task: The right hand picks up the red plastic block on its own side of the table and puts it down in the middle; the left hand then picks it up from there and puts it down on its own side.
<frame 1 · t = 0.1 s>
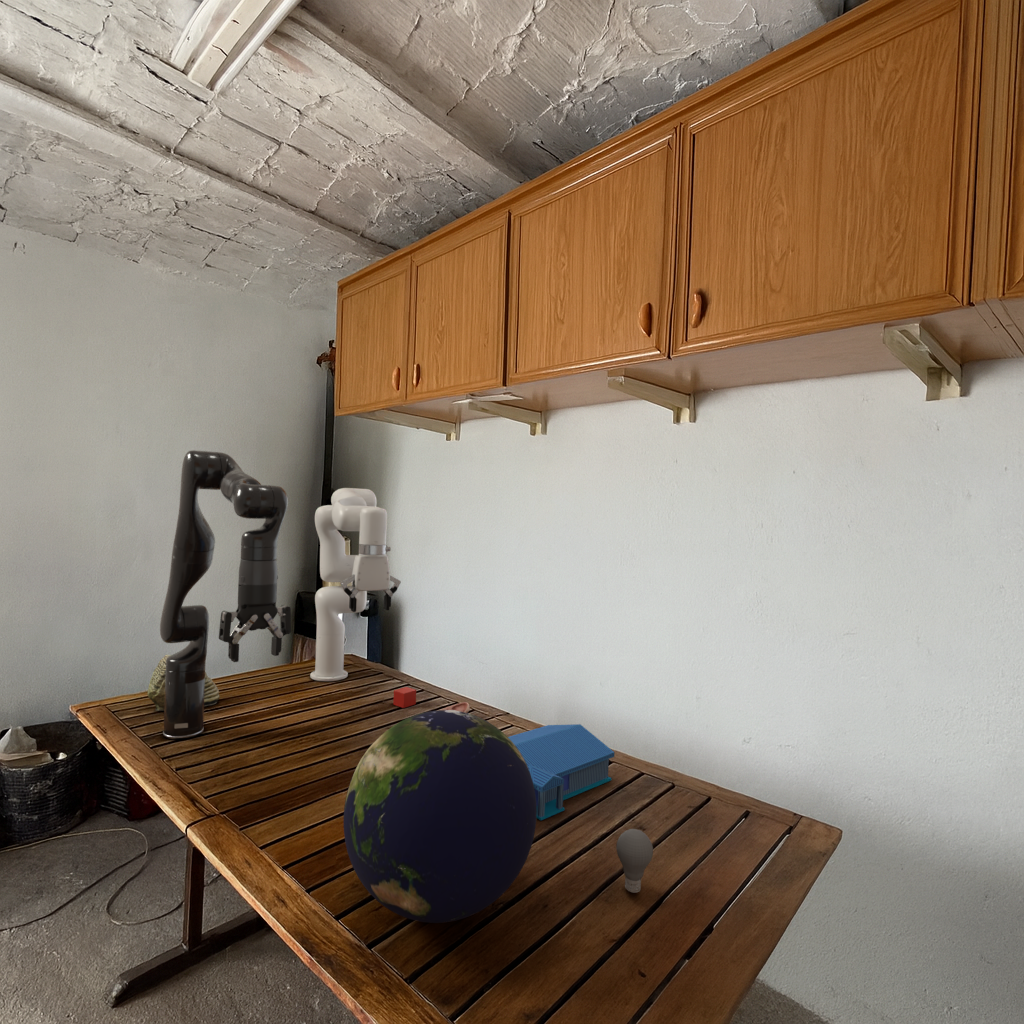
left hand: (255, 658, 132), 29 cm above the table, tool pointing down, fingers open, 8 cm apart
right hand: (370, 610, 181), 31 cm above the table, tool pointing down, fingers open, 9 cm apart
block: (404, 704, 195), on the table
light bulb: (632, 891, 106), on the table
fossil: (183, 706, 185), on the table
model building: (524, 789, 141), on the table
anatomical model: (445, 719, 184), on the table
globe: (437, 905, 100), on the table
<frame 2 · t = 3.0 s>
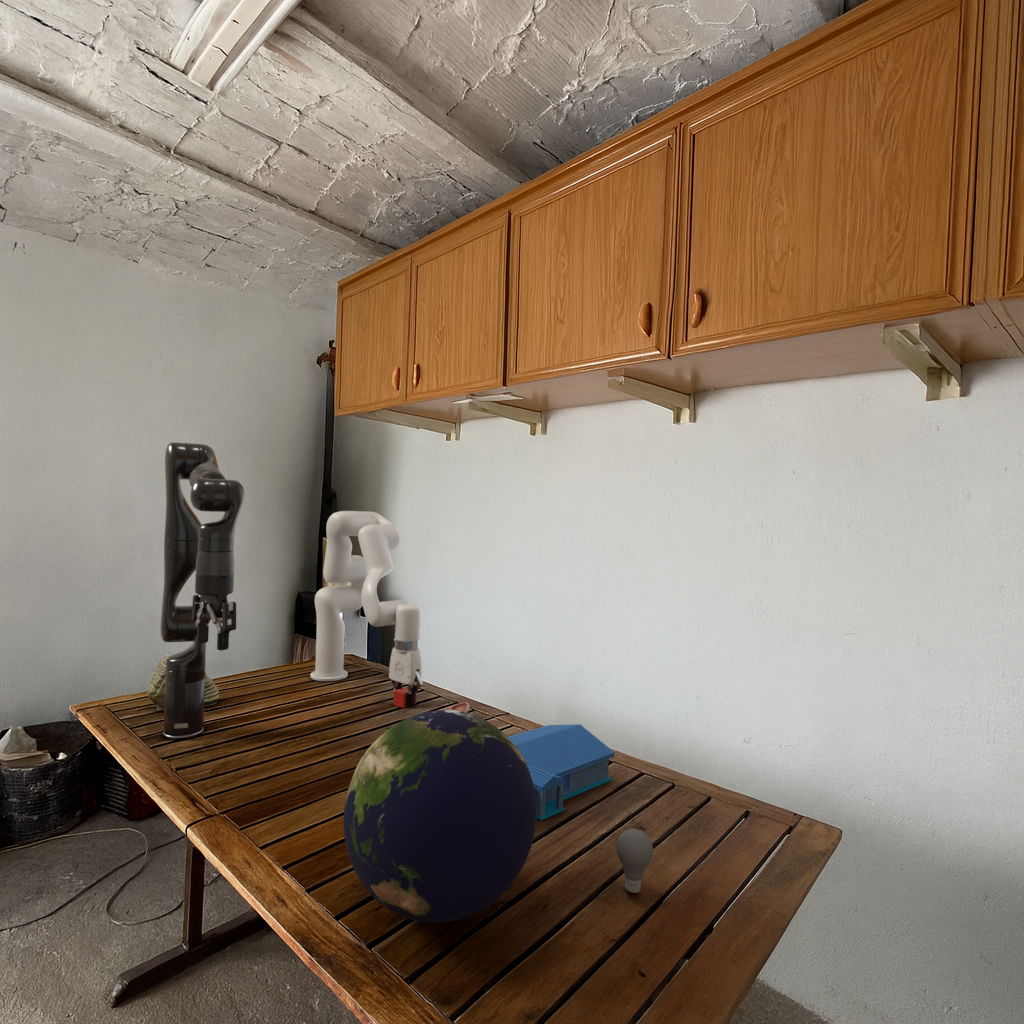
left hand: (212, 646, 137), 30 cm above the table, tool pointing down, fingers open, 8 cm apart
right hand: (404, 702, 195), 0 cm above the table, tool pointing down, fingers closed on block, 4 cm apart
block: (404, 704, 195), on the table, touching right hand
everything else where it was.
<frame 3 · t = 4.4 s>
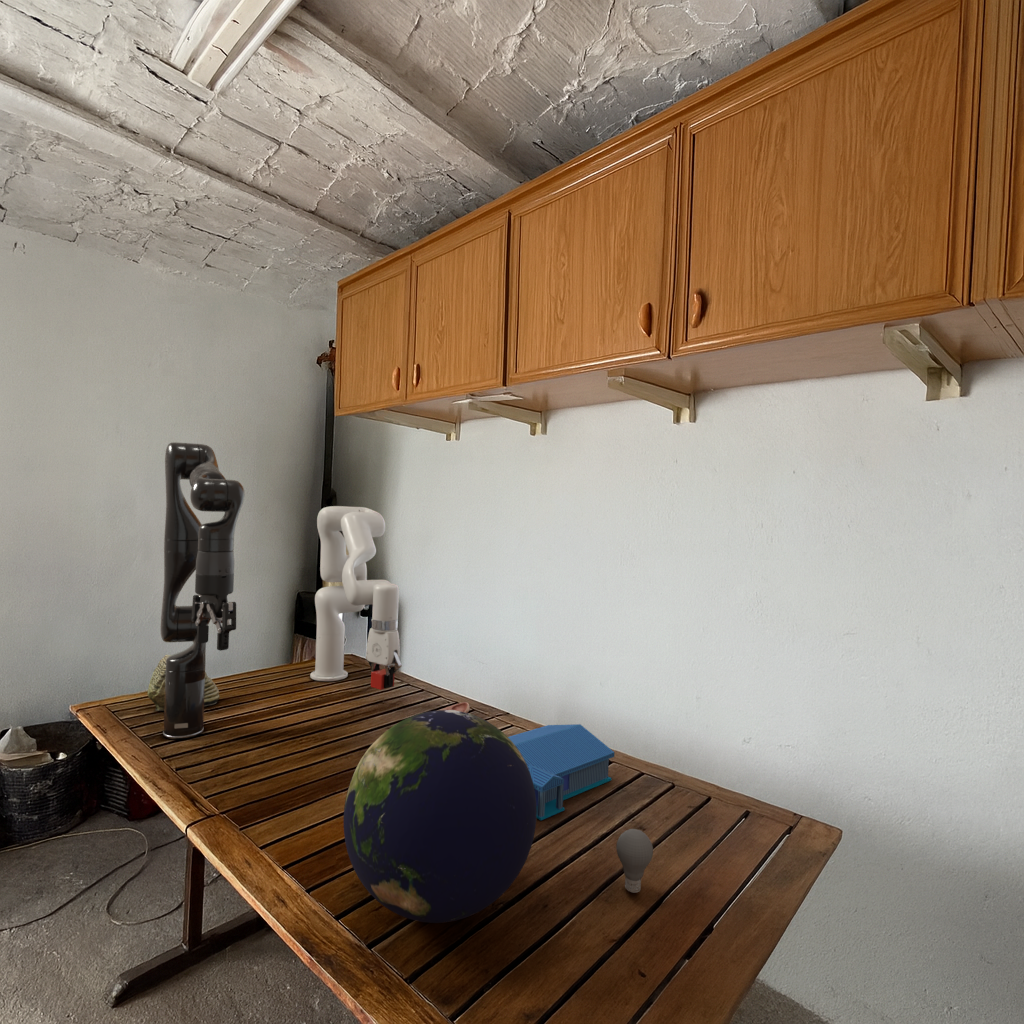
left hand: (212, 646, 137), 30 cm above the table, tool pointing down, fingers open, 8 cm apart
right hand: (382, 685, 189), 7 cm above the table, tool pointing down, fingers closed on block, 4 cm apart
block: (382, 686, 190), point 7 cm above the table, touching right hand
everything else where it was.
when the right hand's fingers open (1 cm above the table, at t = 5.9 s): block stays where it is, on the table.
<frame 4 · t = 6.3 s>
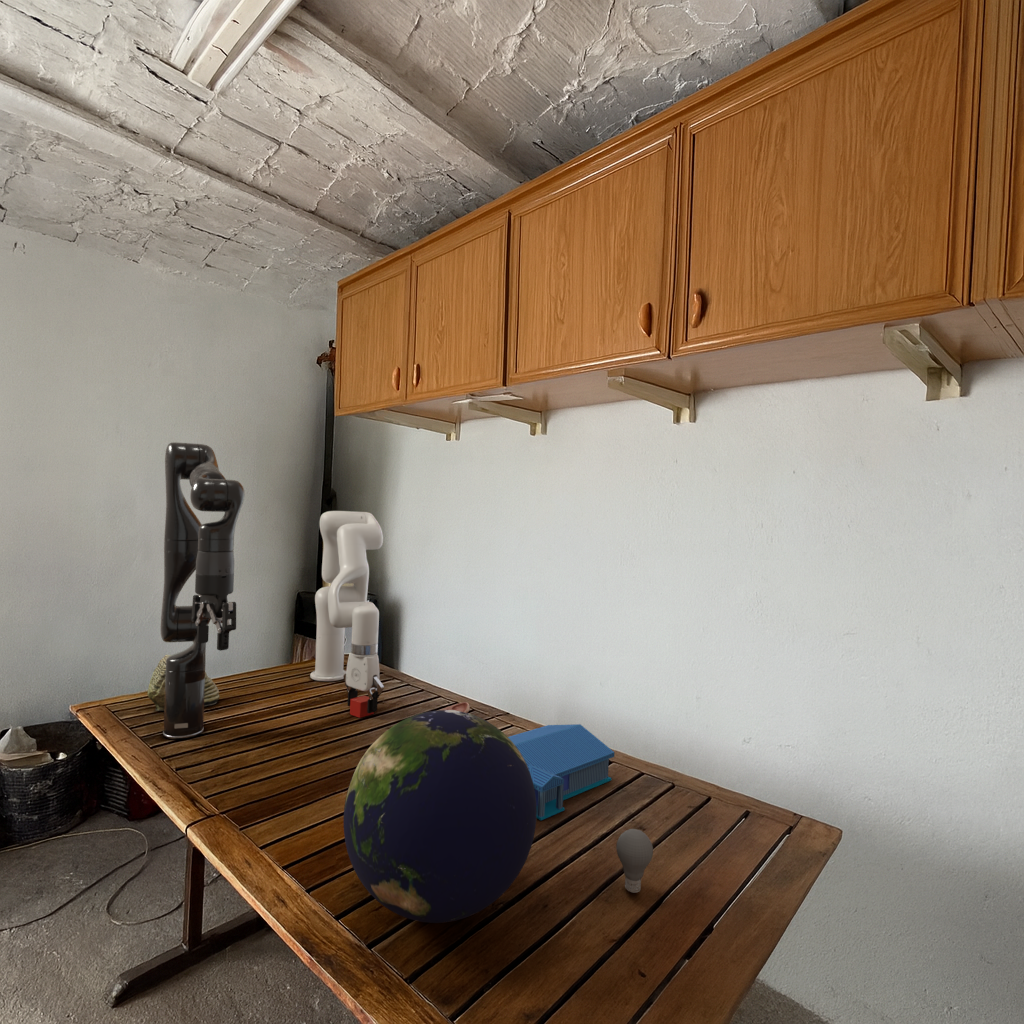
left hand: (212, 646, 137), 30 cm above the table, tool pointing down, fingers open, 8 cm apart
right hand: (362, 708, 185), 2 cm above the table, tool pointing down, fingers open, 8 cm apart
block: (361, 714, 185), on the table
everything else where it was.
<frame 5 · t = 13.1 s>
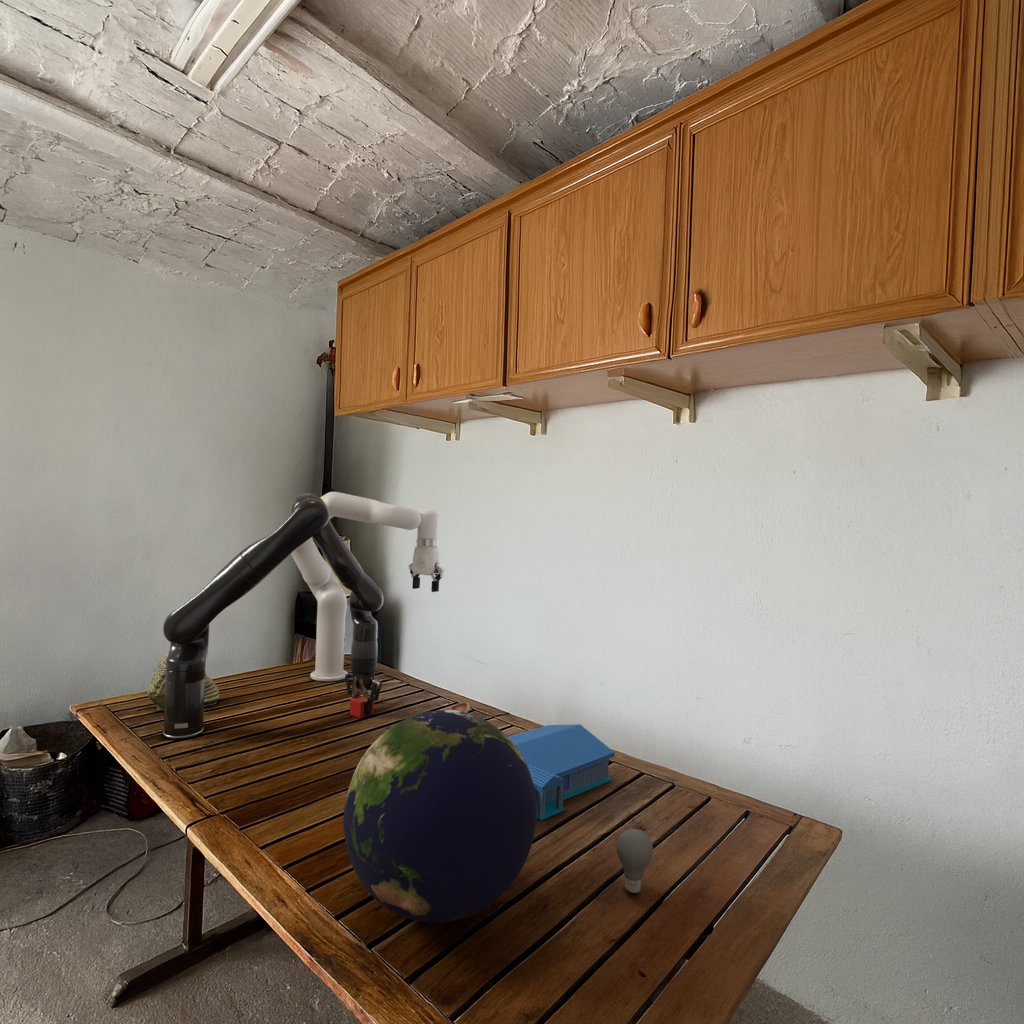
left hand: (361, 712, 185), 1 cm above the table, tool pointing down, fingers closed on block, 4 cm apart
right hand: (425, 590, 231), 30 cm above the table, tool pointing down, fingers open, 9 cm apart
block: (361, 714, 185), on the table, touching left hand
everything else where it was.
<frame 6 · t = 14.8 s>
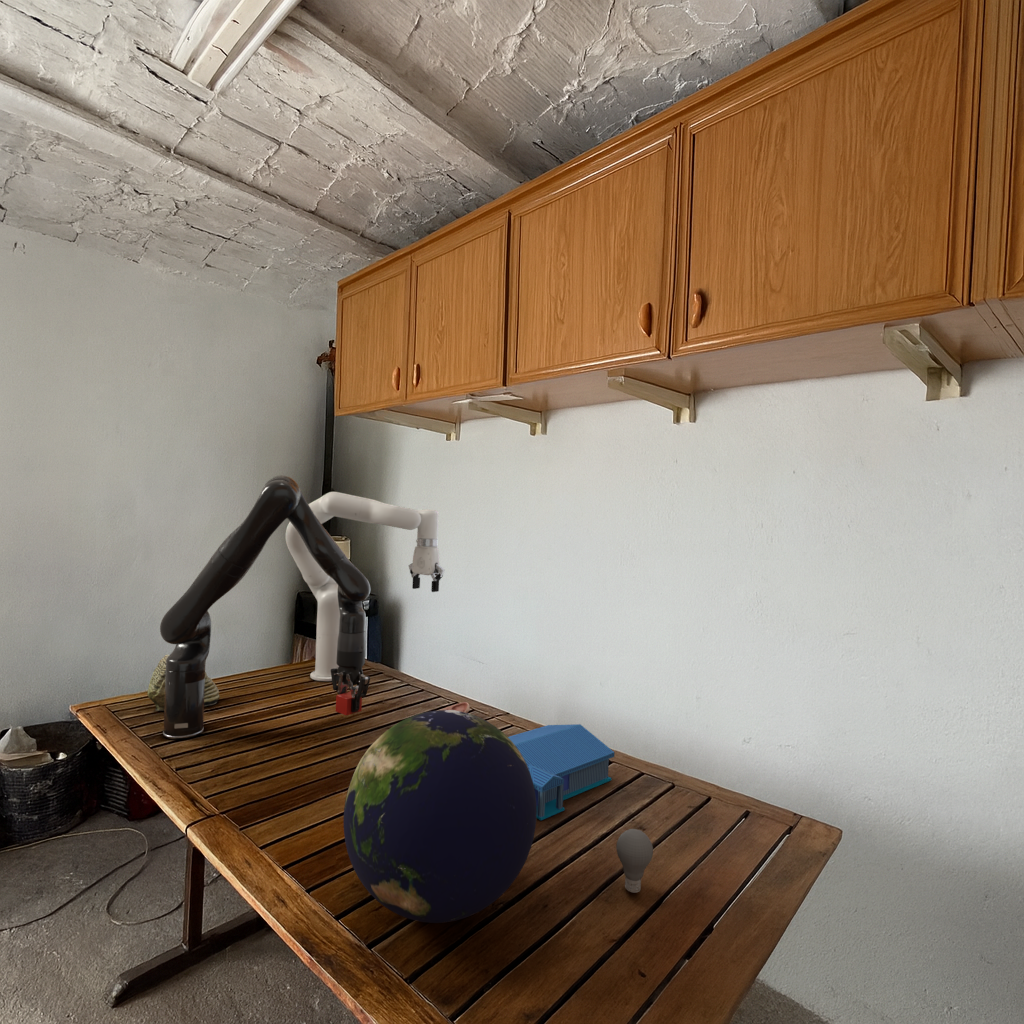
left hand: (348, 709, 173), 5 cm above the table, tool pointing down, fingers closed on block, 4 cm apart
right hand: (425, 590, 231), 30 cm above the table, tool pointing down, fingers open, 9 cm apart
block: (348, 711, 173), point 5 cm above the table, touching left hand
everything else where it was.
when the left hand's fingers open (1 cm above the table, at t = 16.8 s): block stays where it is, on the table.
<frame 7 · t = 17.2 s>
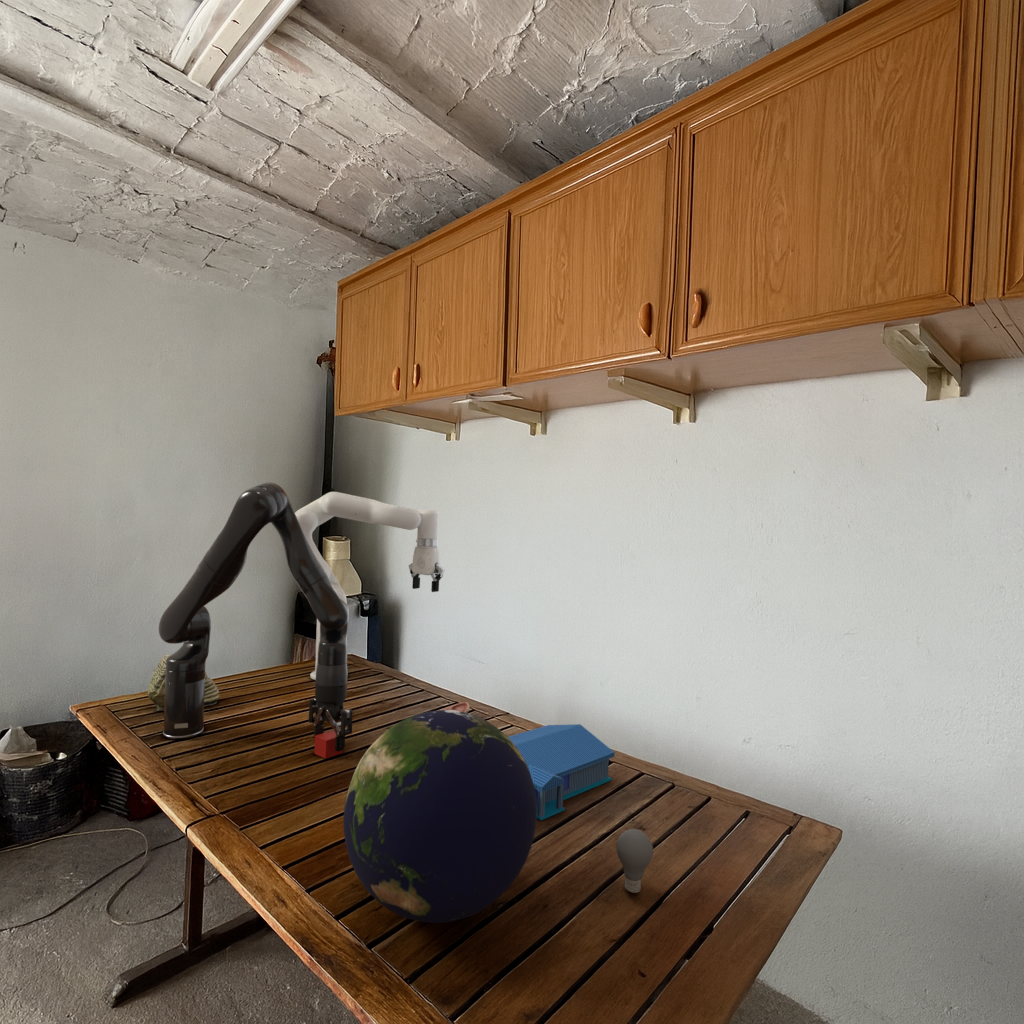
left hand: (329, 745, 156), 2 cm above the table, tool pointing down, fingers open, 8 cm apart
right hand: (425, 590, 231), 30 cm above the table, tool pointing down, fingers open, 9 cm apart
block: (328, 753, 156), on the table
everything else where it was.
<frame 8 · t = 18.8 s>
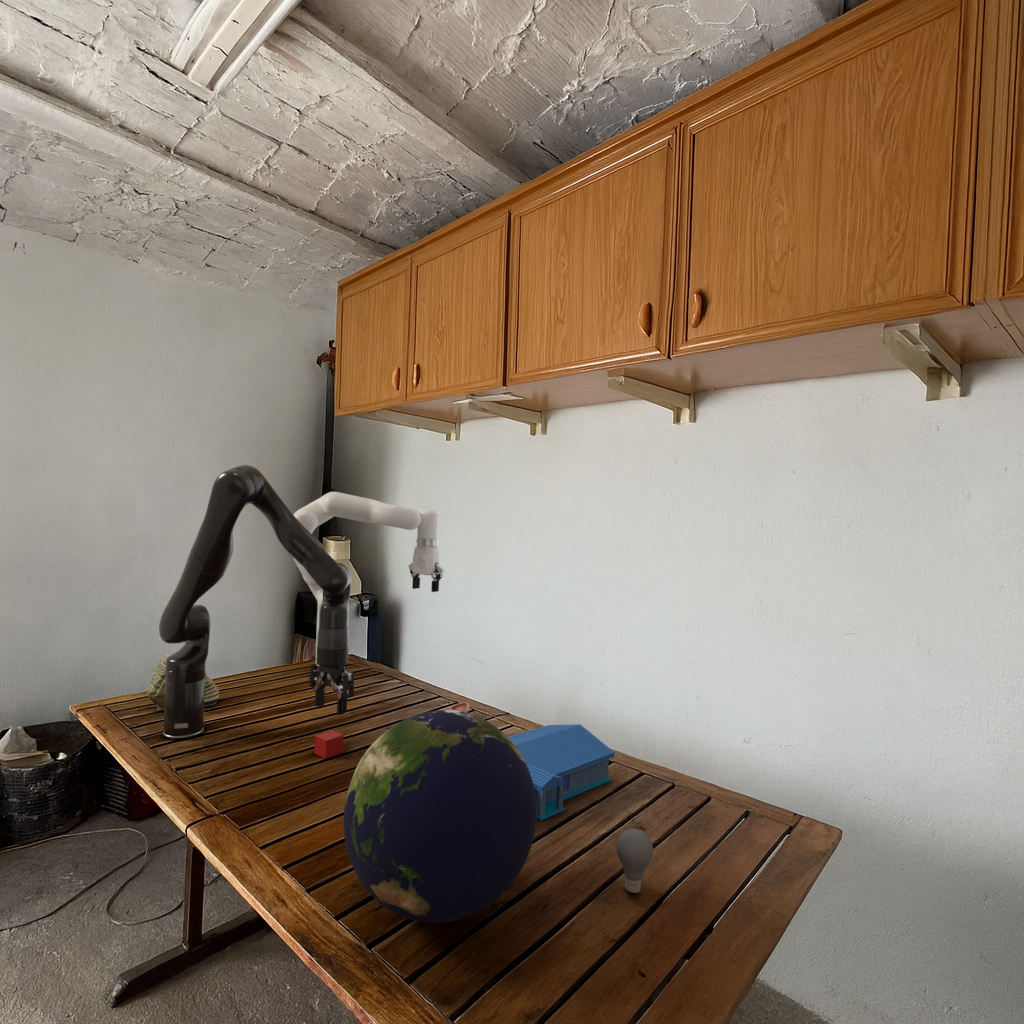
left hand: (330, 709, 156), 11 cm above the table, tool pointing down, fingers open, 8 cm apart
right hand: (425, 590, 231), 30 cm above the table, tool pointing down, fingers open, 9 cm apart
nothing on the table moved.
at the end: block inside the target area (0.1 cm from its centre), on the table; block tilted 0°; the two hands never held the block at the same time; the left hand is holding nothing; the right hand is holding nothing; block at rest at the end (0.0 cm/s) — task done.
